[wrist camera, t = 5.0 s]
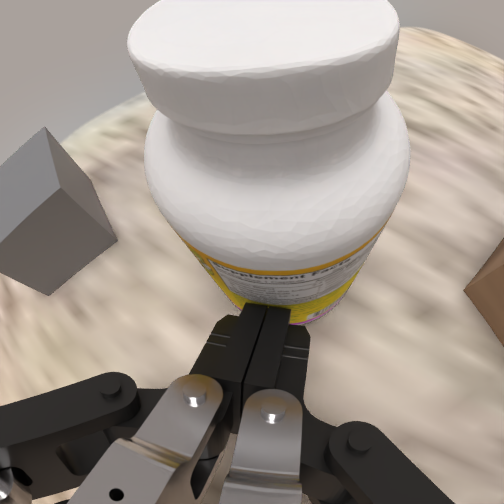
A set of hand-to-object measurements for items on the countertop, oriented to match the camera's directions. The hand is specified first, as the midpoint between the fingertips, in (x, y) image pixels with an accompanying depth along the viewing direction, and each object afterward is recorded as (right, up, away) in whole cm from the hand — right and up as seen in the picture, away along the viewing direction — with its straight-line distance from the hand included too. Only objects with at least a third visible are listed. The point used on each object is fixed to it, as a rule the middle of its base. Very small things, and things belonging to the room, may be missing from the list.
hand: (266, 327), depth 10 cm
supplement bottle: (+1, +2, +6) cm, 6 cm away
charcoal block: (-13, +4, +8) cm, 15 cm away
